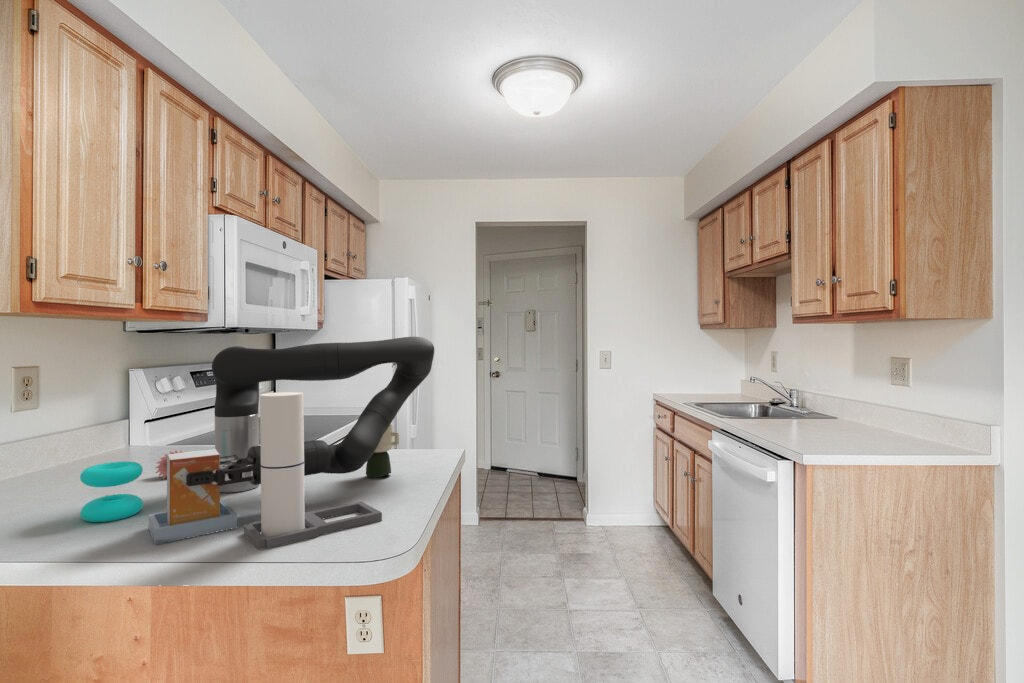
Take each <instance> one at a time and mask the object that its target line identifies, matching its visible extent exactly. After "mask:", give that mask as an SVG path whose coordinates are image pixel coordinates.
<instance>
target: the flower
mask: <svg viewBox="0 0 1024 683" xmlns="http://www.w3.org/2000/svg"><path fill="white" fill-rule="evenodd" d="M175 453H183V451H182V450H180V451H179V452H178V450H176V449H175V451H171V450H169V454H175ZM167 454H168V453H164V456H163V457H159V461H157V462H156V464H158V465H157V466H156V467H155V469H157V471H156V472H155V474H157V473H159V474H158V477H161V476H162V480H165V478H167Z"/></svg>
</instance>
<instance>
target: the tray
mask: <svg viewBox="0 0 1024 683" xmlns="http://www.w3.org/2000/svg"><path fill="white" fill-rule="evenodd" d="M147 516H148V530H150V531H149V533H150V535H151V537H153V538H152V540H153V542H155V543H154V545H155V546H157V544H158V545H162V544H161V543H163V544H166V543H165V542H168V543H171V542H170V541H173V542H175V541H174V540H178V541H180V540H179V539H182V540H184V539H183V538H187V539H189V538H188V537H192V538H194V537H193V536H197V537H199V536H198V535H202V536H204V535H203V534H207V533H212V532H216V531H221V530H226V529H231V528H236V527H237V528H238V514H237V512H236V511H234V509H232V508H231V506H229V504H228V503H227V502H226V501H225V500H223V501H220V516H218V517H213V518H207V519H202V520H197V521H192V522H186V523H181V524H176V525H171V526H168V524H167V510H166V511H160V512H154V513H149V514H147ZM237 528H236V529H237ZM231 530H232V529H231ZM226 531H227V530H226ZM221 532H222V531H221ZM216 533H217V532H216ZM212 534H213V533H212ZM207 535H208V534H207Z"/></svg>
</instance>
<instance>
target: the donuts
mask: <svg viewBox="0 0 1024 683" xmlns="http://www.w3.org/2000/svg"><path fill="white" fill-rule="evenodd" d="M143 472H144V471H143V466H142V465H141V464H140V463H139V462H137V461H114V462H105V463H100V464H95V465H92V466H88V467H86V468H85V469H83V470H82V472H81V473H80V476H79V478H80V481H81V482H82V484H84V485H86V486H87V487H88V486H89V487H93V488H110V487H117V486H122V485H126V484H129V483H131V482H135V480H137V479H138V478H139V477H141V475H142V474H143ZM143 507H144V501H143V500H142V498H141V497H140V496H138V495H134V494H130V493H118V494H110V495H105V496H101V497H98V498H95V499H92V500H90V501H89V502H87V503H86V504H85V505H84V506H83V507H82V508H81V509H80V517H81V518H82V519H83V520H84V521H86V522H89V523H107V521H108V522H114V521H118V520H122V519H123V520H124V519H127V518H130V517H133V516H135V515H136V514H138V513H139V512H140V511H141V510H143Z"/></svg>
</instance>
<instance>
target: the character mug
mask: <svg viewBox="0 0 1024 683" xmlns="http://www.w3.org/2000/svg"><path fill="white" fill-rule="evenodd" d="M393 437H395V438H393ZM394 439H395V440H394ZM393 440H394V441H393ZM399 445H400V435H399V432H397V431H396V432H395V431H394V430H393V424H392V423H391V424H390V426H389V427H388V429H387V430H386V432H385V433H384V434H383V436H382V438H381V440H380V442H379V444H378V446H377V448H376V450H375V451H374V453H373V454H372V456H371V457H370V458H369V459H368V461H367V462H366V466H365V475H366V476H367V477H370V478H380V477H383V476H385V477H386V476H388V475H391V474H392V467H391V460H390V454H389V452H388V451H390V450H392V448H393V446H399Z"/></svg>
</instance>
